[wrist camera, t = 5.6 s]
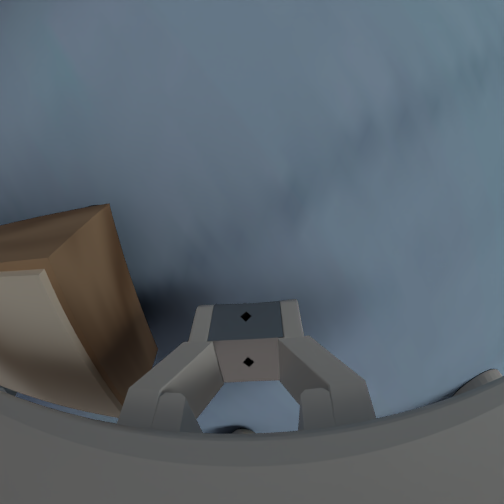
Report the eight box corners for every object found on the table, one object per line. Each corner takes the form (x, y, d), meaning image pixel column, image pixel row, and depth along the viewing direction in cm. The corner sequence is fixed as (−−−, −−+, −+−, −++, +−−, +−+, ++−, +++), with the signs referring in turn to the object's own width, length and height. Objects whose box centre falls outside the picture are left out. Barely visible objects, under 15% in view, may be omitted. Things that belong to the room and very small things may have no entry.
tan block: (-18, 224, 11) (-79, 274, 6) (122, 192, 10) (41, 263, 6) (27, 324, 14) (-12, 383, 9) (163, 331, 14) (135, 423, 9)
